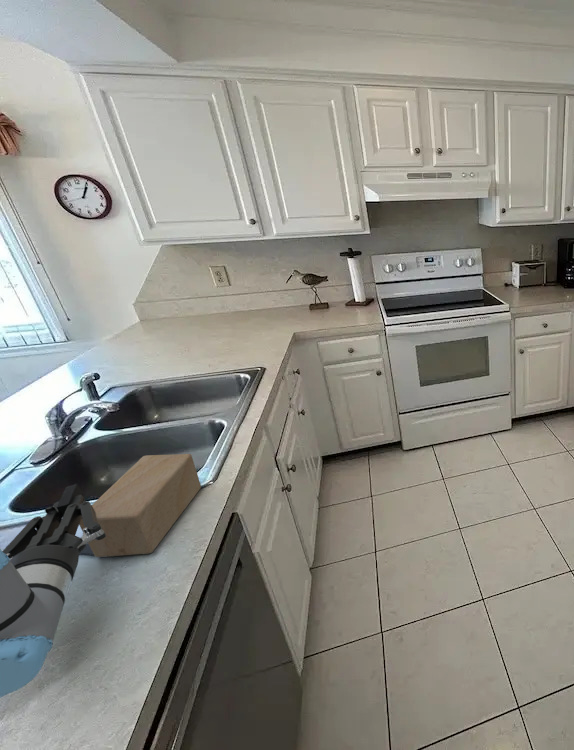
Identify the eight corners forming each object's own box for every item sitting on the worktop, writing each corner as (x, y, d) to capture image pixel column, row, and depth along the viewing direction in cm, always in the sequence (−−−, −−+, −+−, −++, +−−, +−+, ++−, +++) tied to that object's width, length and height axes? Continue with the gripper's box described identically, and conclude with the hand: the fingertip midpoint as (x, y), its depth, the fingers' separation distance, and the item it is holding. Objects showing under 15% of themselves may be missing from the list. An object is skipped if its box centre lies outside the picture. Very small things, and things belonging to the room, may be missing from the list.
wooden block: (151, 554, 81) (202, 487, 99) (136, 515, 77) (191, 452, 95) (94, 558, 80) (156, 489, 97) (74, 519, 75) (143, 454, 93)
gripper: (-16, 625, 57) (37, 520, 75) (106, 578, 63) (127, 492, 81) (-48, 588, 54) (15, 488, 72) (83, 543, 60) (111, 462, 78)
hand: (74, 490), depth 77 cm, fingers closed
